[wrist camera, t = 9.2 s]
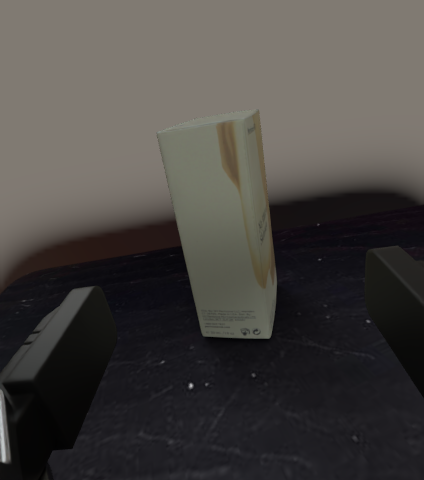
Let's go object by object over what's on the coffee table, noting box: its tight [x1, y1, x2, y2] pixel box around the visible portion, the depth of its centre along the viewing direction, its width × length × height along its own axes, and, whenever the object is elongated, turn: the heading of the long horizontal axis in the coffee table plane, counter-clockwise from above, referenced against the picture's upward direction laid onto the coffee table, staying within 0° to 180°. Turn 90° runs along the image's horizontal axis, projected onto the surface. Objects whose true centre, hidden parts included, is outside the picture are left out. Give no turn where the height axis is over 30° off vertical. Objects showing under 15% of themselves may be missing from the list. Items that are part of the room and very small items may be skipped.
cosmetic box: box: [157, 110, 277, 339], centre depth 19 cm, size 6×4×12 cm
